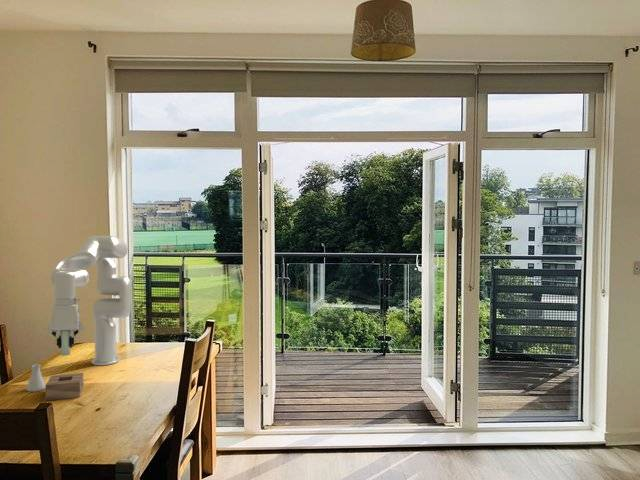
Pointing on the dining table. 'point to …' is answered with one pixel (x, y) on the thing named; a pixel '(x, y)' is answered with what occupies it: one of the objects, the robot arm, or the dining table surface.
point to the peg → (65, 342)
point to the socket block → (64, 386)
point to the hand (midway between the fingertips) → (65, 346)
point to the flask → (36, 380)
